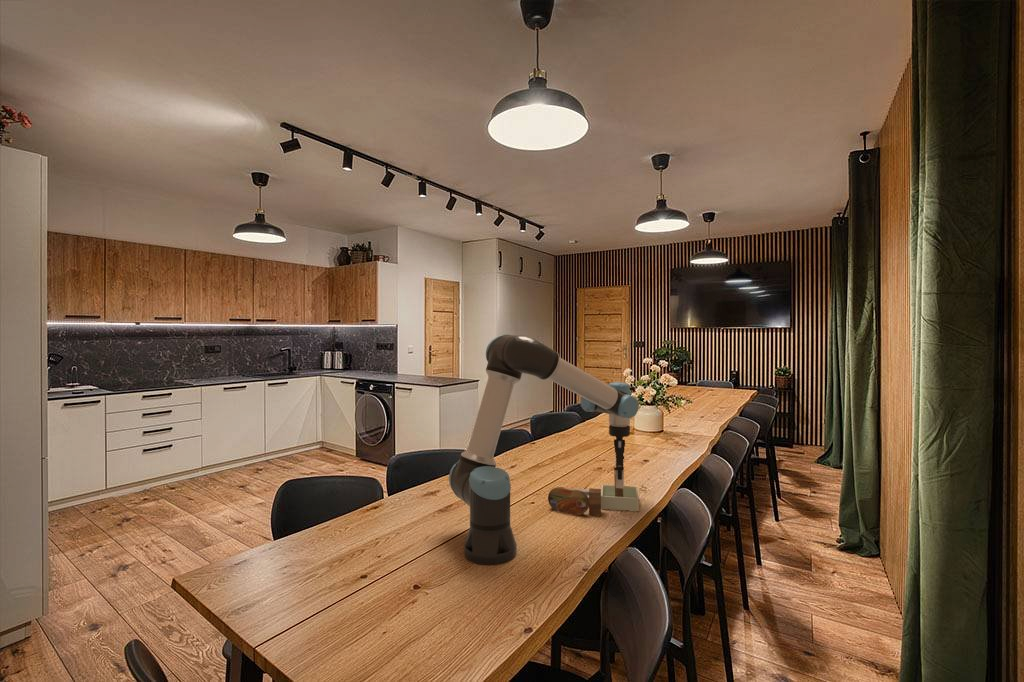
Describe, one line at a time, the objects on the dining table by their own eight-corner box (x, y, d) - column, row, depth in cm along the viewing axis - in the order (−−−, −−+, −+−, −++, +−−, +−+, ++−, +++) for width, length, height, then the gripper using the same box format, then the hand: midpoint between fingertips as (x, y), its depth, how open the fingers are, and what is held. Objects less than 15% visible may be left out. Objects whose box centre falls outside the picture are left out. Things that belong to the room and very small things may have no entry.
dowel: (623, 503, 174) (622, 470, 174) (615, 503, 175) (614, 470, 175) (623, 500, 177) (622, 468, 177) (615, 500, 178) (614, 468, 178)
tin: (547, 509, 171) (547, 486, 171) (551, 506, 173) (551, 483, 173) (586, 518, 163) (586, 493, 163) (590, 515, 165) (590, 490, 165)
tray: (638, 511, 168) (638, 498, 168) (600, 508, 171) (600, 496, 171) (637, 498, 181) (637, 486, 181) (601, 496, 184) (601, 484, 184)
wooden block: (600, 515, 164) (600, 492, 164) (589, 514, 165) (588, 492, 165) (600, 511, 168) (600, 488, 168) (589, 510, 169) (589, 488, 169)
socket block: (595, 506, 173) (595, 498, 173) (570, 504, 175) (570, 496, 175) (596, 498, 182) (596, 490, 182) (572, 496, 184) (572, 488, 184)
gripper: (631, 432, 162) (631, 494, 163) (628, 418, 187) (628, 472, 187) (608, 431, 164) (608, 492, 164) (609, 418, 188) (609, 471, 189)
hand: (619, 482), depth 176 cm, fingers open, 13 cm apart
